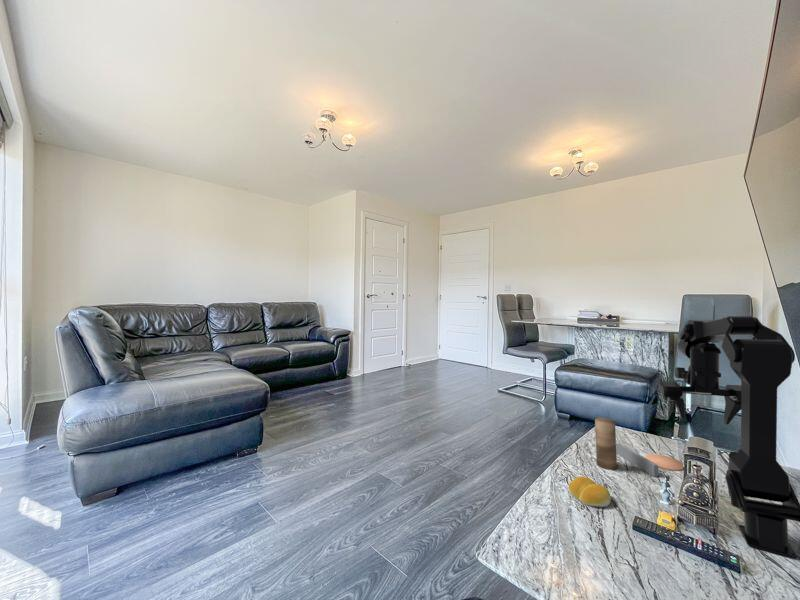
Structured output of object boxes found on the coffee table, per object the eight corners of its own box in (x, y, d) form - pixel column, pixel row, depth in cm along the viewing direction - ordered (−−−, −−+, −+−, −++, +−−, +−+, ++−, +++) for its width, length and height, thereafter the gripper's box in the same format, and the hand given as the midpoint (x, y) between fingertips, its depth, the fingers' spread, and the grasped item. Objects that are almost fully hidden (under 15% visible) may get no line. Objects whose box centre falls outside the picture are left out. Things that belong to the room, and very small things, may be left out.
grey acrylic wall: (658, 476, 89) (658, 465, 89) (654, 476, 89) (653, 465, 89) (620, 453, 103) (619, 443, 103) (616, 453, 103) (616, 443, 103)
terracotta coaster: (687, 473, 90) (687, 472, 90) (646, 465, 95) (646, 464, 95) (682, 460, 97) (681, 458, 97) (644, 453, 102) (644, 452, 102)
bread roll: (595, 512, 75) (594, 495, 75) (563, 492, 83) (562, 476, 84) (620, 503, 78) (619, 486, 78) (586, 484, 86) (586, 469, 86)
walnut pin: (616, 471, 92) (614, 424, 93) (596, 466, 95) (594, 421, 95) (616, 463, 96) (615, 419, 97) (597, 459, 99) (595, 416, 99)
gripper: (735, 358, 91) (734, 412, 93) (652, 356, 99) (653, 406, 101) (758, 371, 81) (757, 431, 83) (664, 367, 89) (664, 422, 91)
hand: (703, 421), depth 89 cm, fingers open, 9 cm apart
